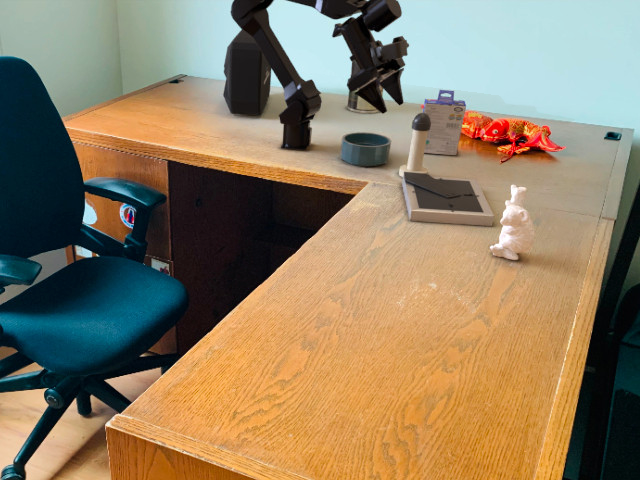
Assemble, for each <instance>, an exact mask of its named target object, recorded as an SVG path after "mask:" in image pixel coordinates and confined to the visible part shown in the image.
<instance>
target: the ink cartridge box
mask: <svg viewBox="0 0 640 480" xmlns="http://www.w3.org/2000/svg"><path fill="white" fill-rule="evenodd" d="M443 94H448V95H450V96H443ZM454 97H455V90H446V89H439V90H438V95H437V99H432V98H431V99H430V98H425V99H424V104H423V108H422V113H426V114H428V115H429V117H430V121H431V127H430V130H429V131H428V133H427V139H426V145H425V150H424V154H434V155H448V156H457V153H458V148H459V144H460V139H461V134H462V130H463V129H462V128H463V123H464V119H465V114H466V110H467V109H466V108H467V104H466V101H465V100H457V99H456V100H455V98H454Z"/></svg>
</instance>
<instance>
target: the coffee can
mask: <svg viewBox="0 0 640 480" xmlns="http://www.w3.org/2000/svg"><path fill="white" fill-rule="evenodd" d="M359 71H360V70H359V68H358V66H357V64H356V62H355V60H354V61H351V69H350V77H349V78H351V77H352V76H354V75H355V74H357V73H358V72H359ZM381 81H382V80H381ZM381 81H380V82H381ZM379 89H380V91H381V94H382V96H383V94H384V89H383V88H382V87H381V86H380V85H379ZM358 90H359V89H358ZM358 90H356V91H354V92H352V93H350V91H349V90H348V97H347V106H346V109H347V110H349V111H351V112H354V113H359V114H376V113H379V112H380V111H379V110H377V109H376V108H375V107H373V106H372V105H371V104H369V103H368V102H367V101H365V100H364V99H362V98H361V97H359V96H358V95H355V94H354V93H355V92H357V91H358Z"/></svg>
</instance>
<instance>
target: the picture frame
mask: <svg viewBox="0 0 640 480" xmlns="http://www.w3.org/2000/svg"><path fill="white" fill-rule="evenodd" d="M401 181H402V182H401V186H402V190H403V196H404V200H405V205H406V209H407V215H408V219H409V221H410V222H423V223H424V222H425V223H438V224H439V223H440V224H451V225H452V224H453V225H454V224H455V225H469V226H483V227H492V226H493V223H494V218H495V215H494V213H493V211H492V209H491V207H490V204H489V203H488V201H487V198H486V196H485V194H484V193H483V191H482V188H481V186H480V184H479V182H478V180H477V179H476V178H461V177H460V178H459V177H448V176H447V177H446V176H431V175H430V174H429V173H428V174H424V173H413V172H404V175H403V177H402V180H401Z"/></svg>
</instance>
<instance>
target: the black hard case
mask: <svg viewBox="0 0 640 480" xmlns="http://www.w3.org/2000/svg"><path fill="white" fill-rule="evenodd" d="M226 47H227V48H226V53H225V58H224V64H223V74H224V77H225V83H224V89H223V94H222V95H223V99H224V100H225V103H226V105H227V108H228V110H229V113H230V114H232V115H246V116H247V115H248V116H261V115H262V114H263V113H264V110H265V108H266V106H267V103H268V101H269V98H270V94H271V84H272V83H271V82H272V81H271V80H272V68H271V67H270V65H269V64H268V62H267V60H266V59H265V57H264V55H263V54H262V52H261V50H260V49H259V47H258V45H257V44H256V42H255V40H254V39H253V37H252V36H250V35H249V34H247V33H246V32H245V31H243V30H242V29H241V30H239V32H238V33H237V34H236V35H235V37H234V38H233V39H232V41H231V42H230V43H229V45H228V46H226Z"/></svg>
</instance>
